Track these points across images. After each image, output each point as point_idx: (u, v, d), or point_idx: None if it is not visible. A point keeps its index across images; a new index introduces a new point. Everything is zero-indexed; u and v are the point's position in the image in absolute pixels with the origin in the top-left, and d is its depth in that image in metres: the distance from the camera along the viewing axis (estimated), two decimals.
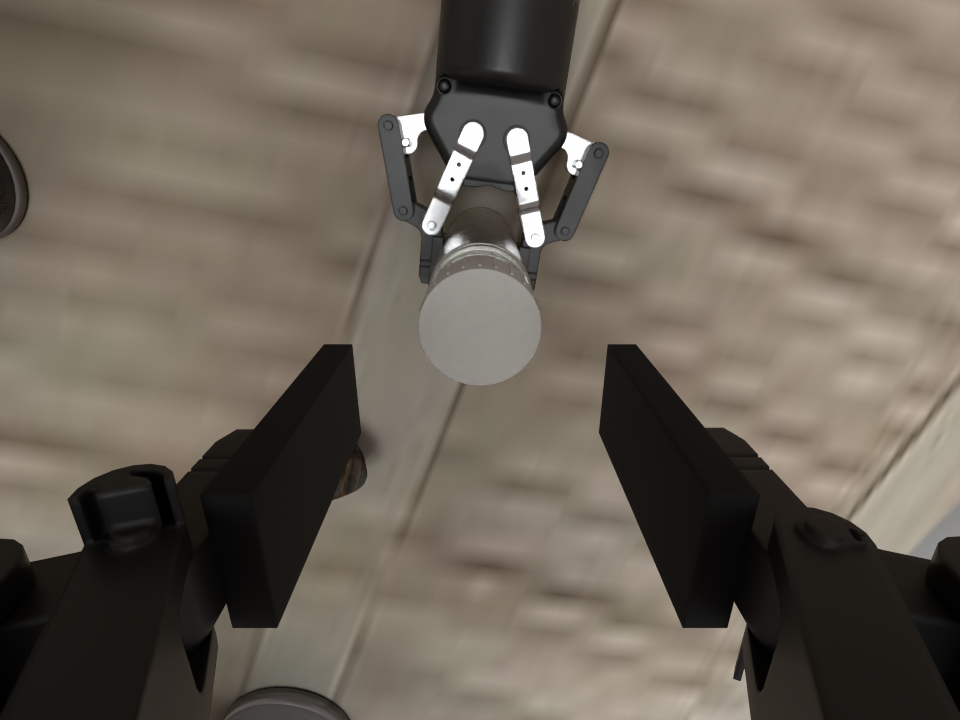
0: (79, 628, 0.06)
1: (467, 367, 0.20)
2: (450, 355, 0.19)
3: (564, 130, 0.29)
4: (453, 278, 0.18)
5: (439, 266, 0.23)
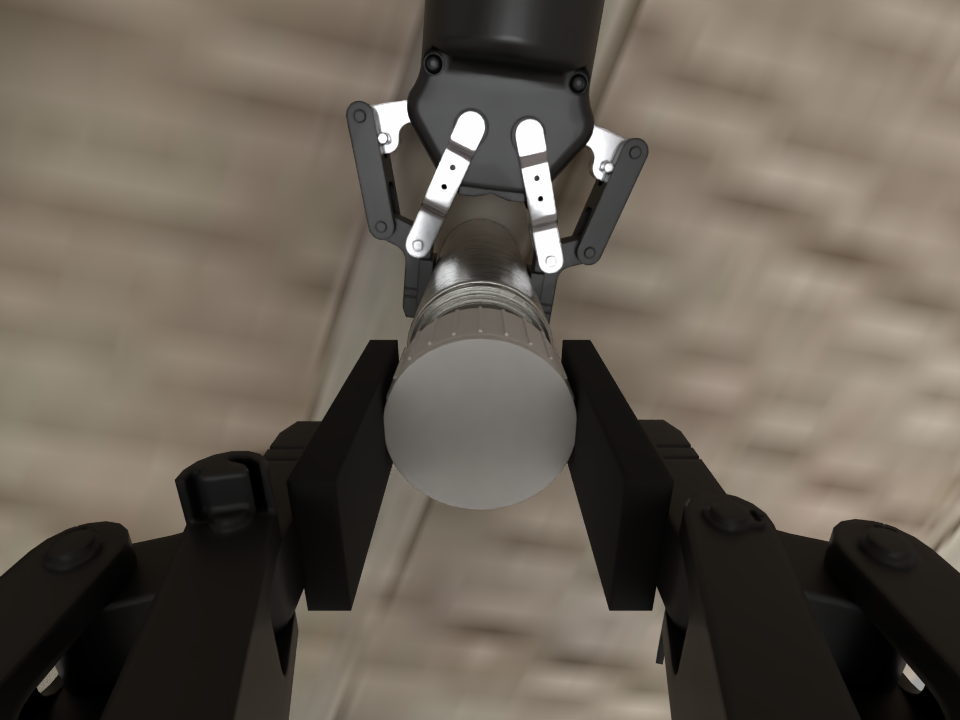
0: (184, 604, 0.06)
1: (461, 484, 0.13)
2: (434, 467, 0.12)
3: (590, 122, 0.23)
4: (437, 354, 0.11)
5: (422, 315, 0.16)
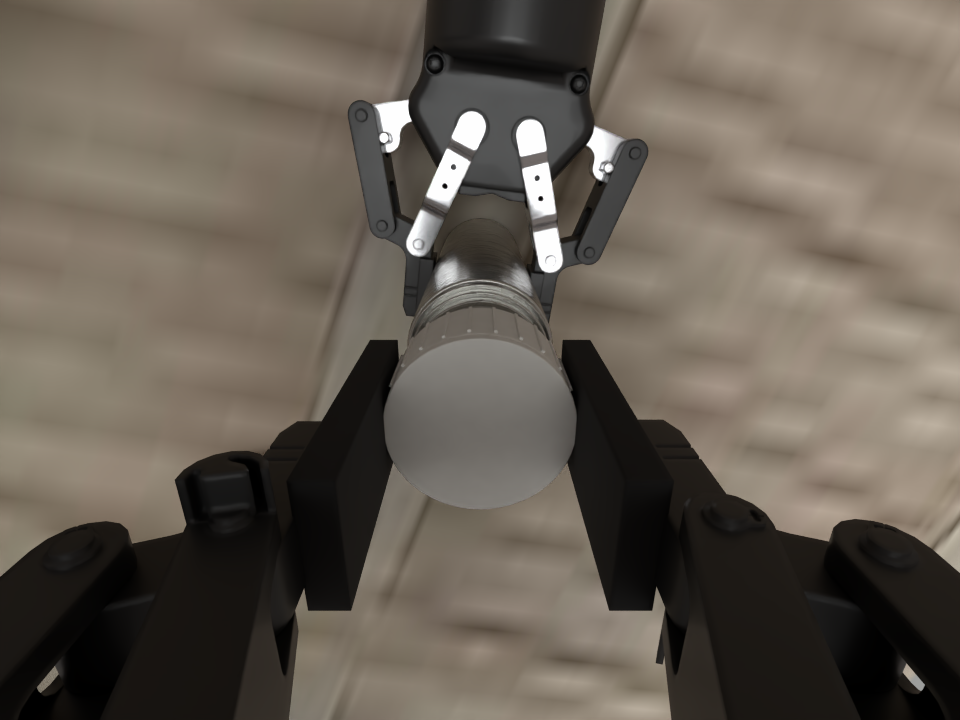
0: (183, 603, 0.06)
1: (547, 426, 0.12)
2: (536, 454, 0.12)
3: (591, 123, 0.23)
4: (420, 486, 0.13)
5: (422, 313, 0.16)
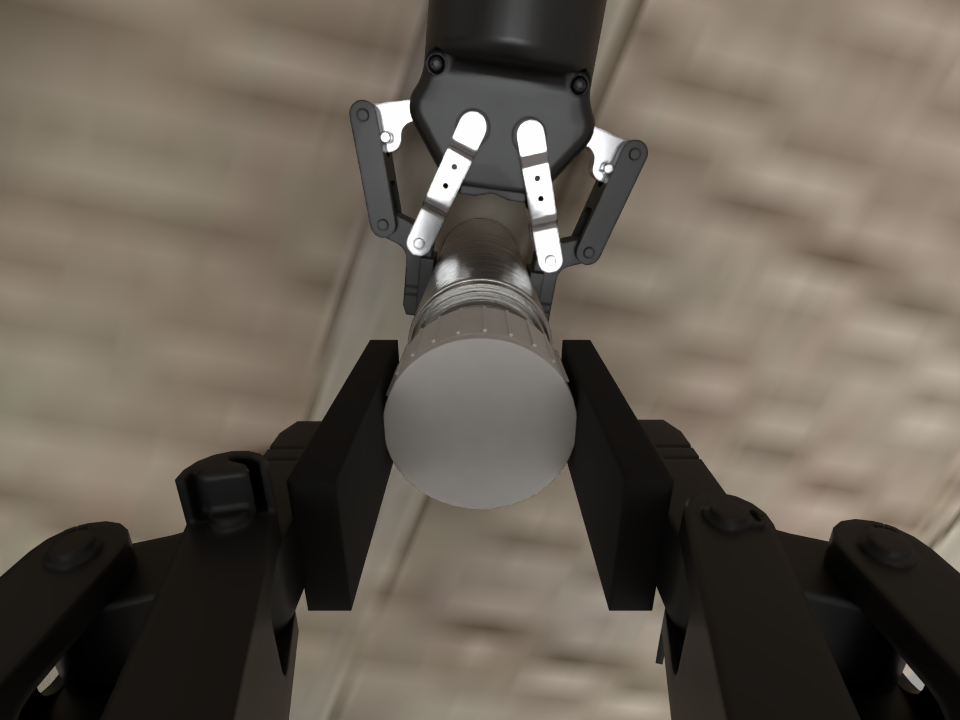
0: (184, 604, 0.06)
1: (450, 374, 0.11)
2: (485, 371, 0.11)
3: (591, 124, 0.23)
4: (563, 459, 0.12)
5: (423, 311, 0.16)
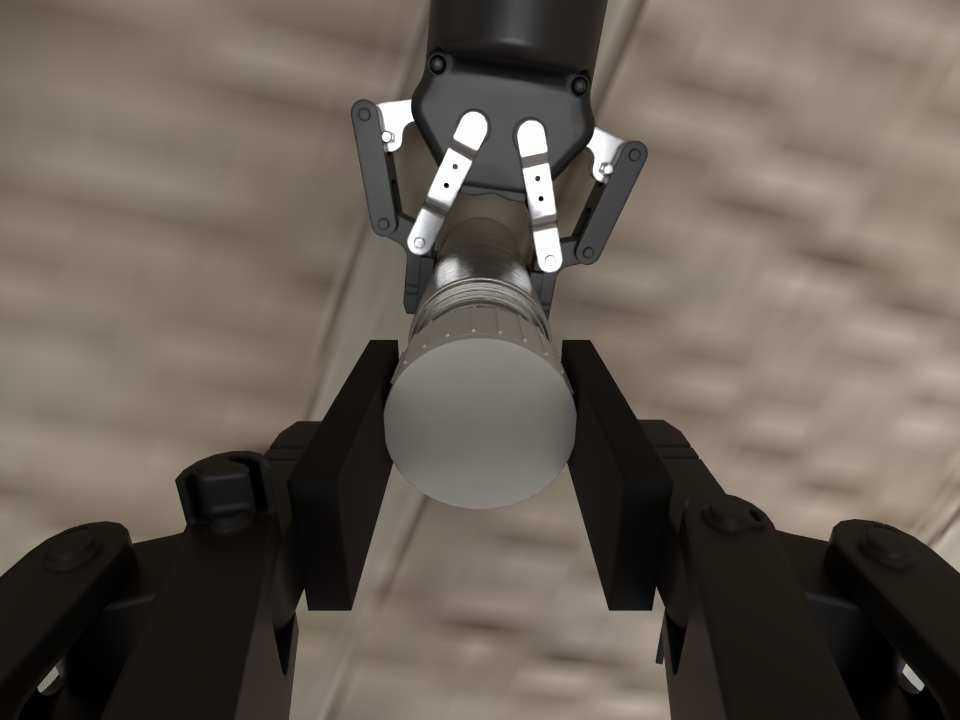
0: (184, 603, 0.06)
1: (435, 471, 0.12)
2: (419, 445, 0.12)
3: (591, 124, 0.23)
4: (480, 344, 0.11)
5: (424, 310, 0.16)
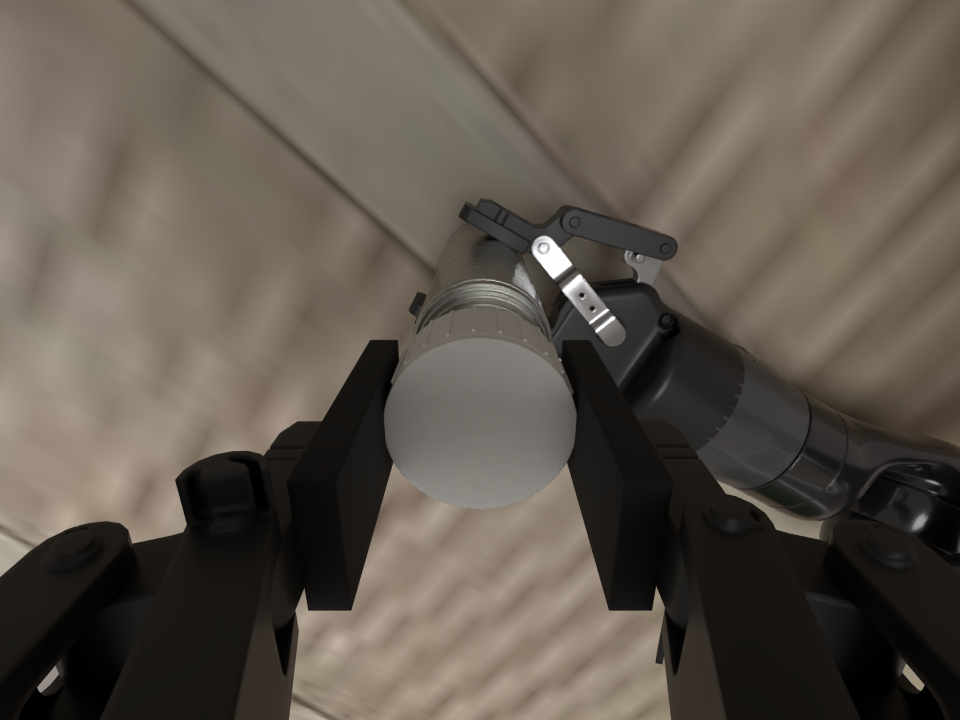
0: (184, 603, 0.06)
1: (435, 471, 0.12)
2: (419, 445, 0.12)
3: None
4: (480, 344, 0.11)
5: (543, 319, 0.17)
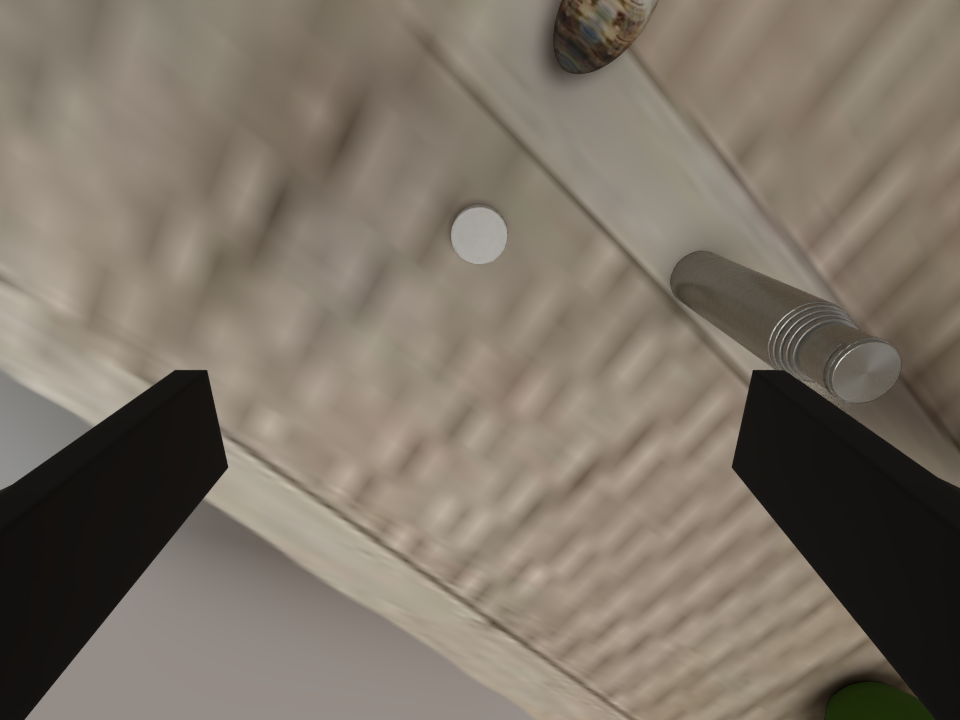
0: None
1: (465, 250, 0.42)
2: (461, 241, 0.42)
3: None
4: (479, 208, 0.41)
5: None
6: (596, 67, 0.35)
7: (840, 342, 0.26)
